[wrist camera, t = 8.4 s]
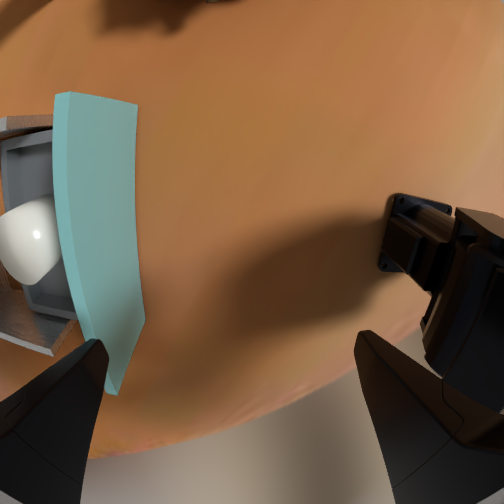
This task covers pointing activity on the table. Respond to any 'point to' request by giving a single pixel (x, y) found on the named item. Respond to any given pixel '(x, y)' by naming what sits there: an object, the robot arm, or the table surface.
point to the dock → (13, 301)
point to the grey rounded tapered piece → (30, 239)
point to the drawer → (86, 219)
